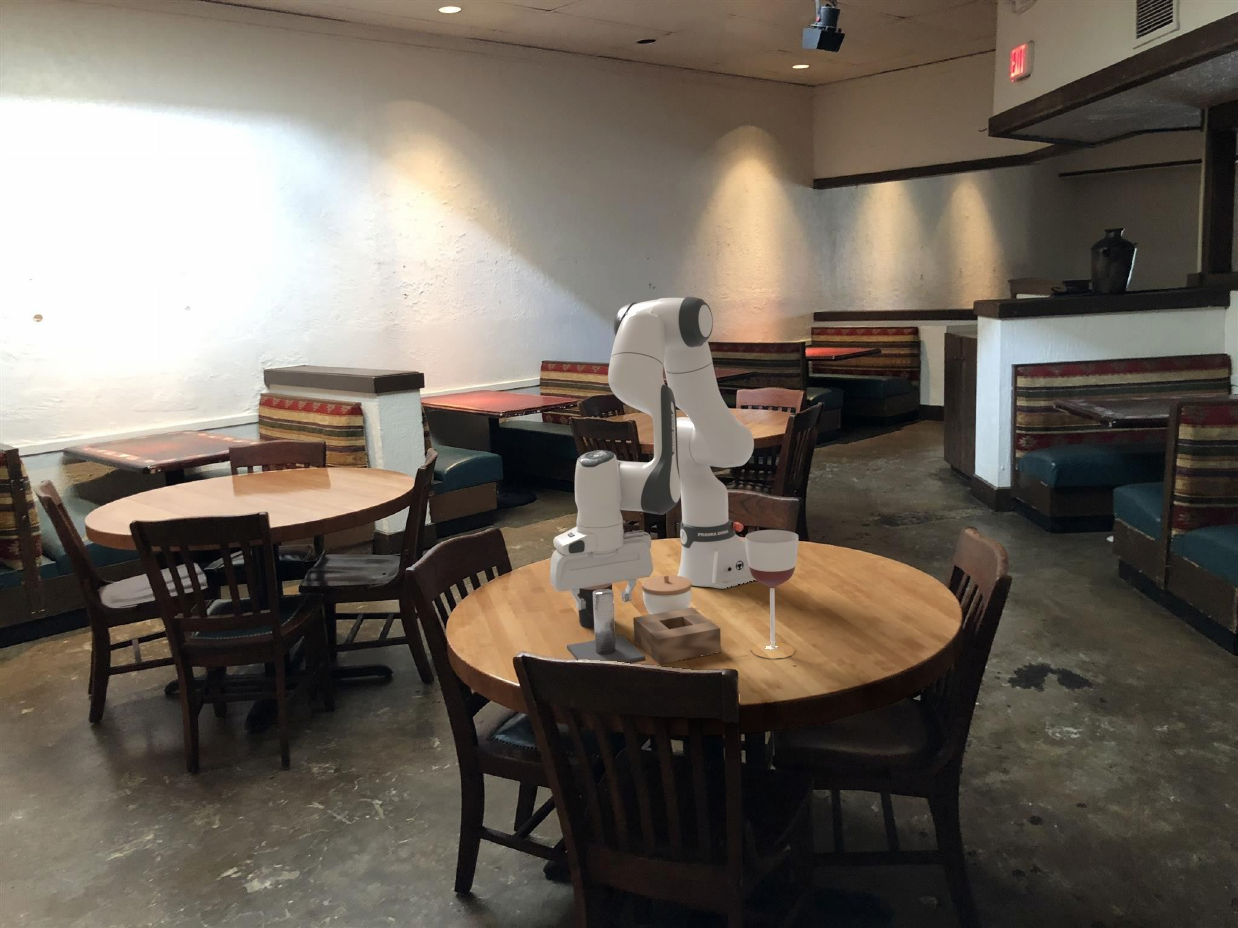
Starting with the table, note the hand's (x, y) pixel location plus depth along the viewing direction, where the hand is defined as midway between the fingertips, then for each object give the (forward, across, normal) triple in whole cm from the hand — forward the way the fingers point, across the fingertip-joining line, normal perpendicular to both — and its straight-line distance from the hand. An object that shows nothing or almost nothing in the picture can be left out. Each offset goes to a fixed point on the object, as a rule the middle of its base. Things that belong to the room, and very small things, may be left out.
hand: (604, 604), depth 182 cm
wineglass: (+10, -30, +13) cm, 34 cm away
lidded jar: (+10, -19, -13) cm, 25 cm away
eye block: (+10, -14, +3) cm, 17 cm away
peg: (+9, 0, 0) cm, 9 cm away
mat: (+10, 0, 0) cm, 10 cm away
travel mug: (+10, -4, -17) cm, 20 cm away
